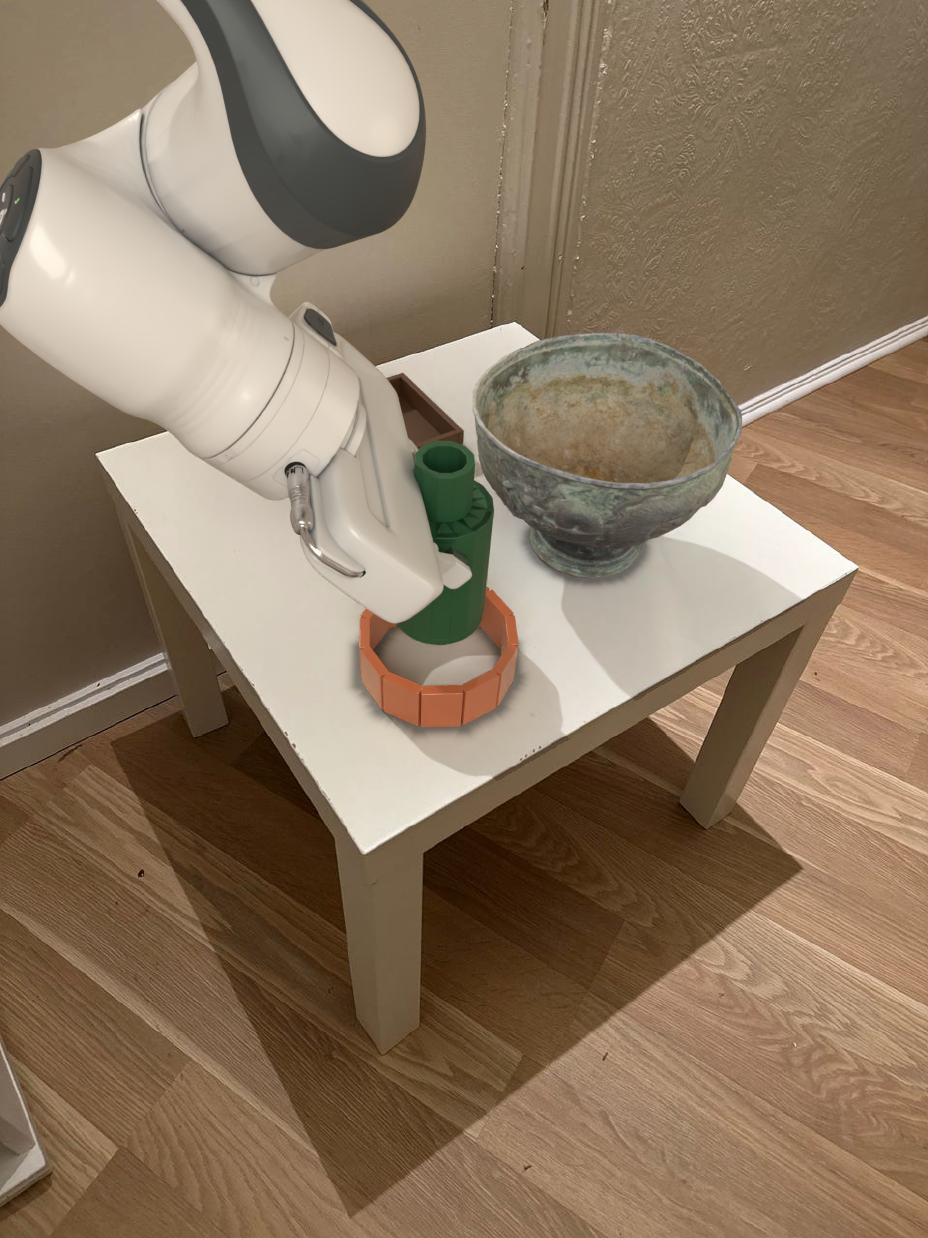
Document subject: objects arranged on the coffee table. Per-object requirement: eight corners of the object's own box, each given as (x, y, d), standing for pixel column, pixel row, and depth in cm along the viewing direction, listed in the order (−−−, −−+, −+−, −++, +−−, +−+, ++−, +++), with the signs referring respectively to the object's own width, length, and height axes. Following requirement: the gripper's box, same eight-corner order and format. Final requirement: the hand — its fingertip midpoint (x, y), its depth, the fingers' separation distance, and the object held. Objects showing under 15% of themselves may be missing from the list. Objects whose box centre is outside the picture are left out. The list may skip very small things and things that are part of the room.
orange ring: (360, 729, 64) (358, 696, 61) (362, 609, 72) (360, 575, 69) (519, 725, 65) (525, 692, 62) (505, 607, 73) (509, 573, 70)
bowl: (428, 513, 80) (431, 366, 69) (597, 448, 87) (625, 306, 76) (559, 661, 69) (588, 516, 58) (738, 572, 77) (795, 429, 65)
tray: (321, 506, 80) (319, 483, 78) (267, 440, 86) (264, 416, 84) (462, 453, 86) (464, 430, 84) (403, 394, 92) (402, 372, 90)
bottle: (393, 646, 61) (391, 493, 51) (392, 579, 65) (390, 426, 55) (486, 644, 61) (502, 493, 51) (479, 578, 66) (493, 427, 56)
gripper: (340, 505, 41) (524, 623, 50) (308, 286, 54) (457, 410, 63) (253, 582, 43) (443, 682, 52) (243, 355, 57) (395, 465, 66)
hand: (451, 532), depth 58 cm, fingers closed on bottle, 6 cm apart
